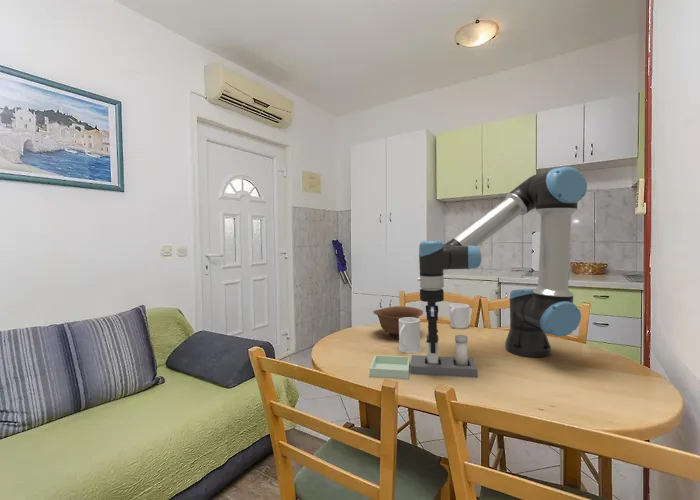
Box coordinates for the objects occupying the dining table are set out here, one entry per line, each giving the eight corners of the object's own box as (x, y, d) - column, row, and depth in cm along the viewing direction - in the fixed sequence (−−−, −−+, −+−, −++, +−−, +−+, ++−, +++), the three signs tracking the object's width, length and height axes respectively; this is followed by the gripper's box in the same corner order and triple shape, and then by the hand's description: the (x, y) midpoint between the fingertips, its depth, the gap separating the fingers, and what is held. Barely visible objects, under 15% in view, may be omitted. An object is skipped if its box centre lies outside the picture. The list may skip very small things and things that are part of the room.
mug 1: (408, 358, 124) (407, 325, 123) (389, 353, 129) (388, 322, 129) (425, 349, 132) (424, 319, 132) (406, 345, 138) (406, 316, 138)
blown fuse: (438, 366, 114) (438, 334, 113) (439, 371, 110) (438, 337, 110) (427, 366, 115) (426, 333, 114) (427, 370, 111) (426, 337, 110)
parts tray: (410, 365, 117) (409, 356, 117) (408, 380, 105) (408, 370, 105) (375, 363, 119) (374, 355, 119) (369, 378, 108) (369, 368, 108)
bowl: (366, 331, 160) (365, 308, 159) (409, 326, 166) (408, 304, 166) (385, 345, 139) (384, 318, 138) (433, 339, 145) (432, 313, 145)
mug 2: (456, 323, 169) (456, 302, 169) (473, 326, 162) (472, 305, 162) (443, 327, 162) (442, 306, 162) (460, 331, 155) (459, 308, 155)
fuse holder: (472, 366, 115) (472, 332, 114) (477, 379, 105) (476, 342, 104) (411, 363, 119) (411, 330, 118) (410, 375, 109) (410, 339, 108)
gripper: (420, 283, 122) (421, 346, 123) (419, 294, 101) (420, 369, 102) (441, 283, 121) (442, 347, 122) (445, 294, 100) (446, 370, 101)
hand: (432, 357), depth 112 cm, fingers open, 9 cm apart
